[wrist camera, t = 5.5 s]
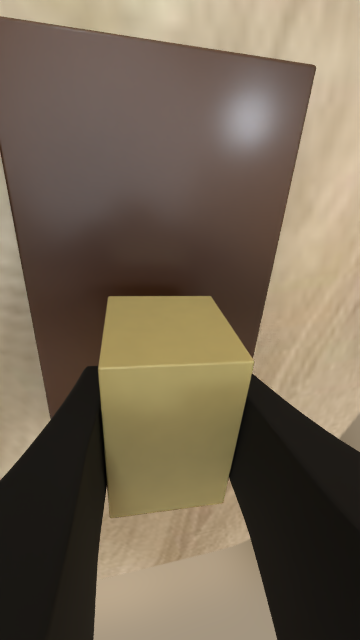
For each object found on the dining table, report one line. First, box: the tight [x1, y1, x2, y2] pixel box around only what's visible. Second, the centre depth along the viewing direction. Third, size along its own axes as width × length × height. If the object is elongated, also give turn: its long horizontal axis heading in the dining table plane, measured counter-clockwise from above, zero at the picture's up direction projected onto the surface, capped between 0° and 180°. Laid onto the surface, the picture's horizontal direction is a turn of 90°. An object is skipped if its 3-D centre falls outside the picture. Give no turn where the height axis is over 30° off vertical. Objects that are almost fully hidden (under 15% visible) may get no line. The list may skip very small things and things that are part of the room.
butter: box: [98, 296, 254, 518], centre depth 8 cm, size 5×3×4 cm, turn 177°
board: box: [0, 16, 316, 419], centre depth 11 cm, size 14×9×1 cm, turn 177°
